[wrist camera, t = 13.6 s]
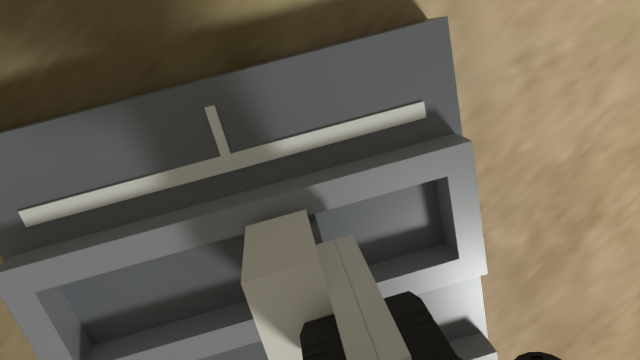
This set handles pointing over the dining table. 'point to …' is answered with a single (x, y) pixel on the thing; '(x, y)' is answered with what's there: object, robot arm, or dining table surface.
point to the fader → (284, 281)
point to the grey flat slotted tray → (242, 199)
